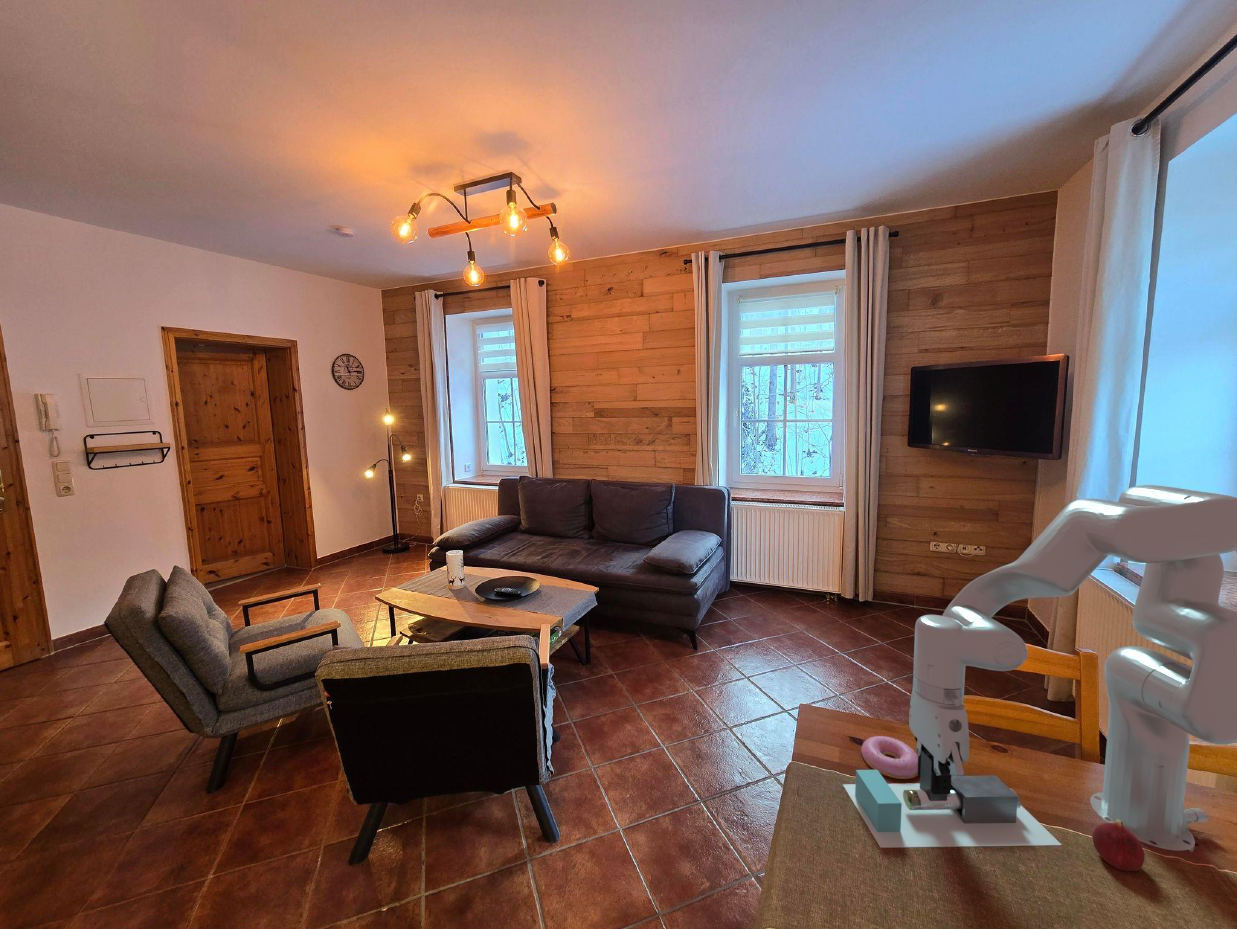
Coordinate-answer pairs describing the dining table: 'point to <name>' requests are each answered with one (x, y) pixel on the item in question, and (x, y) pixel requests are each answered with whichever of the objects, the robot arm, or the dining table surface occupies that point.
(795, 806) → the dining table surface
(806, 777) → the dining table surface
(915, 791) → the silver bolt with handle
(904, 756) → the doughnut
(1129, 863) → the onion
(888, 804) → the socket
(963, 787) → the sleeve
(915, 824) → the base board
